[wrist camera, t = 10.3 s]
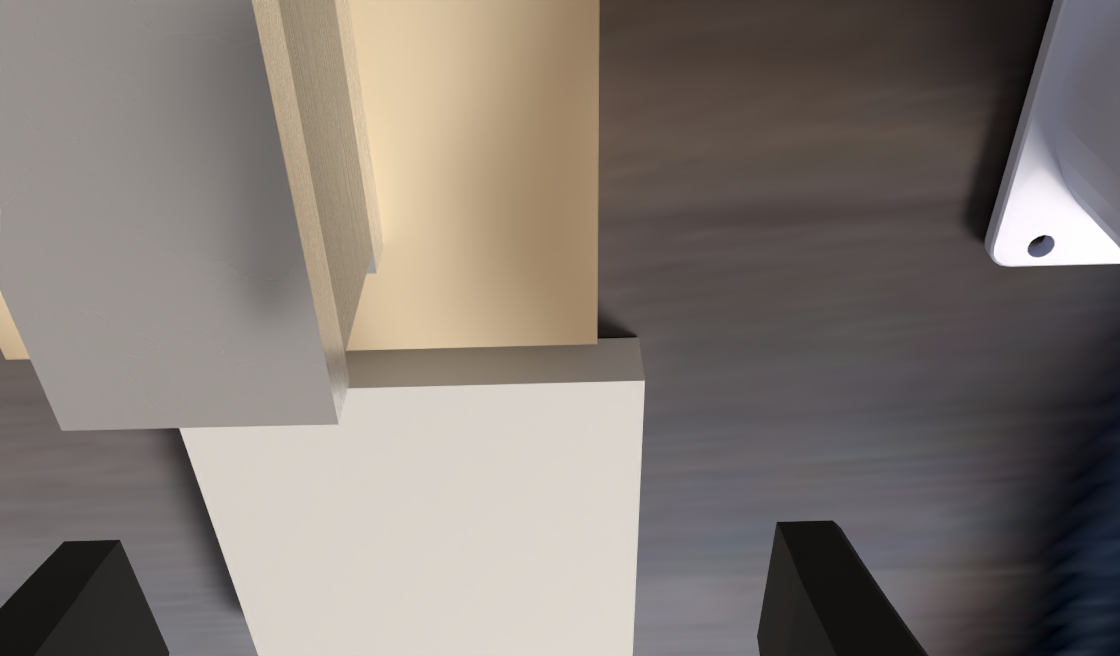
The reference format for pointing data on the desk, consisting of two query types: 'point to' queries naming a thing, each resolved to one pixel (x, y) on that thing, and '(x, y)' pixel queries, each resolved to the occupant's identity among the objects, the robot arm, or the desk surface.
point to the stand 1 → (475, 174)
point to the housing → (185, 207)
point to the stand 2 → (441, 507)
